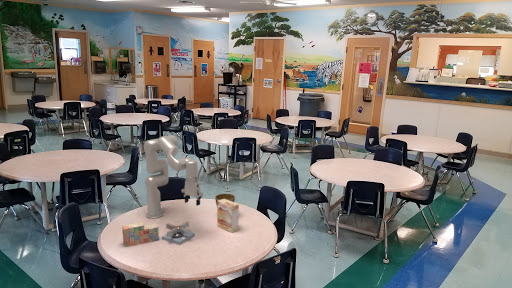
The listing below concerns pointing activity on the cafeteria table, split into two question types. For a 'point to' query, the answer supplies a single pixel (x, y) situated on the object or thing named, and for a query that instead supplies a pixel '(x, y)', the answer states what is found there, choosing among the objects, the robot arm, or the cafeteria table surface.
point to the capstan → (178, 230)
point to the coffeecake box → (227, 215)
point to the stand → (179, 239)
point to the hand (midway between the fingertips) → (192, 203)
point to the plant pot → (225, 197)
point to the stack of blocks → (139, 233)
